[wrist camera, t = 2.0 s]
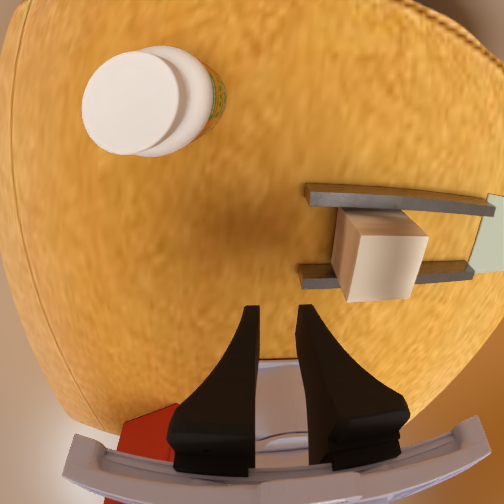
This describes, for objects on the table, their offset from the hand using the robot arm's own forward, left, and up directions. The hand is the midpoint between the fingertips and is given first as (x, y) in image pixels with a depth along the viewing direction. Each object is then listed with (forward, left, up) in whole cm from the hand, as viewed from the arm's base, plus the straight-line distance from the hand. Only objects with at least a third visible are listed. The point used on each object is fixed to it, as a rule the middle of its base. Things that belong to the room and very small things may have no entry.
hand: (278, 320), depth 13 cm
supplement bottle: (-5, +10, -10) cm, 15 cm away
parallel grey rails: (+12, 0, -9) cm, 15 cm away
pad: (+25, 0, -9) cm, 27 cm away
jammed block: (+8, 0, -9) cm, 12 cm away
